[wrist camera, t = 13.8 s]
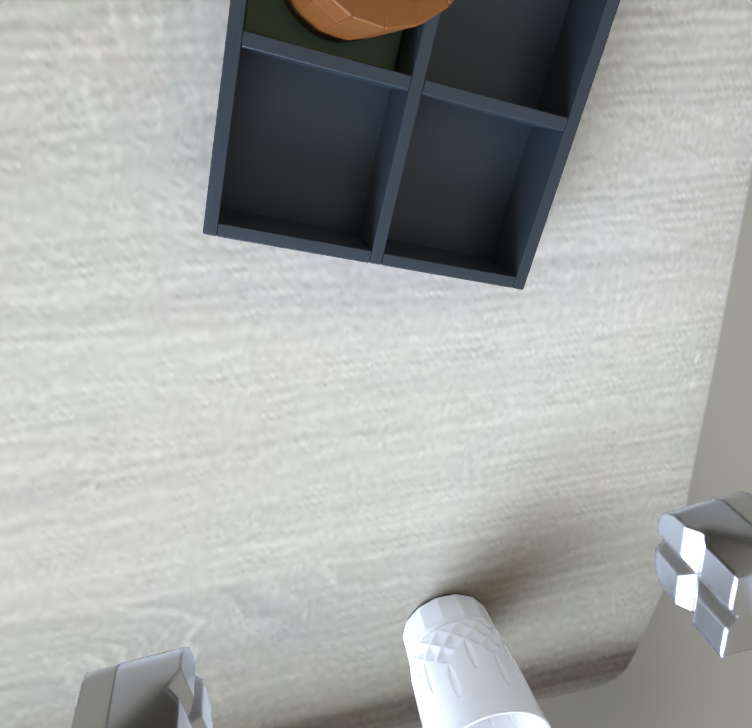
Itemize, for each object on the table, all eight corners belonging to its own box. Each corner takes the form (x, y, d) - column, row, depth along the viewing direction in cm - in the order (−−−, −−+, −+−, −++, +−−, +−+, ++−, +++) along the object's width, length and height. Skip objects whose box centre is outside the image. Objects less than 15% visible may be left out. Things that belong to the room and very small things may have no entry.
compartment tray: (206, 213, 30) (202, 234, 26) (253, -179, 24) (257, -225, 20) (491, 266, 35) (523, 290, 31) (591, -55, 29) (645, -74, 25)
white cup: (469, 570, 45) (526, 692, 36) (508, 628, 48) (569, 752, 40) (377, 622, 45) (412, 756, 36) (422, 676, 49) (464, 810, 40)
